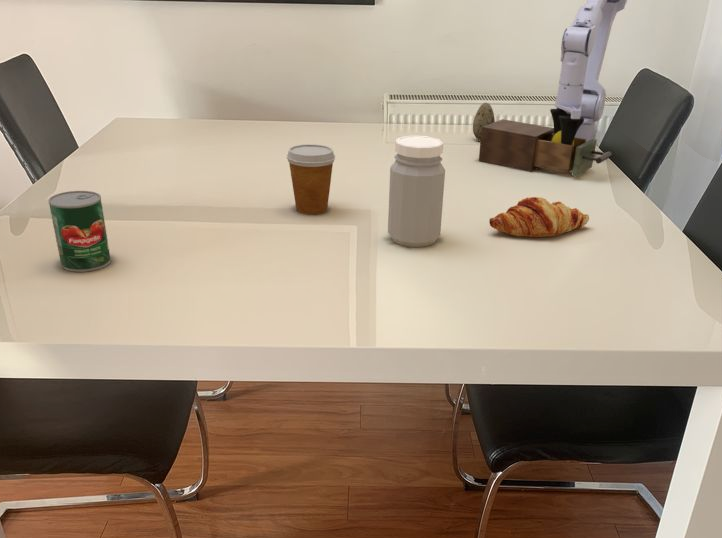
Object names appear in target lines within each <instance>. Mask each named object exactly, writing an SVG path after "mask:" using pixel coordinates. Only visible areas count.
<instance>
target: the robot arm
mask: <svg viewBox="0 0 722 538" xmlns="http://www.w3.org/2000/svg"><path fill="white" fill-rule="evenodd" d="M627 2H628V0H586V3H585V4H583V5H581V6H580V7H579V9H578V10H577V13H576V15H575V17H574V19H573V21H572V24H571V25H570V26H569V27H568V28H565V29H564V31H563V33H562V37H561V43H560V51H561V52H560V62H561V65H560V66H561V67H560V74H559V79H558V80H559V81H558V86H557V87H558V88H557V93H556V94H557V95H556V99H555V102H554V107H555V108H550V110H549V111H550V112H549V113H550V114H551V118H552V123H553V128H554V135H555V134H556V133H557V132H559V131H561V143H562V144H567V145H572V143H573V140H574V137H577V138H583V139H586V142H587V141H589V140H591V139H595V140H596V138H597V131H598V127H597V124H596V122H598V121H600V120H601V119H602V116H603V113H604V111H605V110H604V109H605V104H606V97H607V92H606V89H605V88H604V86H603V85H602V83H600V81H599V78H600V74H601V70H602V67H603V63H604V60H605V56H606V50H607V47H608V43H609V39H610V34H611V31H612V27H613V24H614V21H615V18H616V16H617V13H619V12H621V11H622V10H625V7H626V5H627ZM595 155H596V154H594V156H595Z"/></svg>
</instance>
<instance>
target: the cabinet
mask: <svg viewBox="0 0 722 538" xmlns="http://www.w3.org/2000/svg"><path fill="white" fill-rule="evenodd" d="M549 133H554V127H551V126H545V125H538V124H532V123H528V122H523V121H522V122H520V121H516V120H509V119H503V118H501V119H500V120H497V121H496V120H495V122H494V123H491V124H488V125H486V126H483V127H482V131H481V141H479V143H480V144H479V154H478V162H480V163H486V164H491V165H497V166H500V167H505V168H510V169H516V170H520V171H526V172H530V173H531V172H534V171H536V170H537V169H539V168H540V167H535V166H533V163H534V156H535V148H536V141H537V139H538V138H540V137H542V136H544V135H547V134H549Z"/></svg>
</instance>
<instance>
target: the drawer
mask: <svg viewBox="0 0 722 538" xmlns="http://www.w3.org/2000/svg"><path fill="white" fill-rule="evenodd" d="M553 136H554V133H549V134H547V135H544V136H542V137H540V138H538V139H537V141H536V148H535V156H534V163H533V166H535V167H539V168H541V169H546V170H551V171H556V172H561V173H564V174H565V173H566V174H569V173H571V172H572V173H571V176H572V177H578V176H580V175H583V174H584V173H585V172H587V171H589V170H590V169H592V167H593V165H594V164H593V163H594V162H595V163H596V164H601V163H603V162H605V161H607V160H608V159H610V158H611V157H612V155H613V154H612V152H611V151H606V152H604V151H597V150H596V147H597V139H596V138H595V139H591V140H589V141H587V142H586V139H583V138H577V137H574V146H573V145H567V144H562V143H556V142H551V141H552V138H553ZM573 147H574V149H573ZM594 154H595V155H599V156H597V157H595V155H594Z"/></svg>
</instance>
